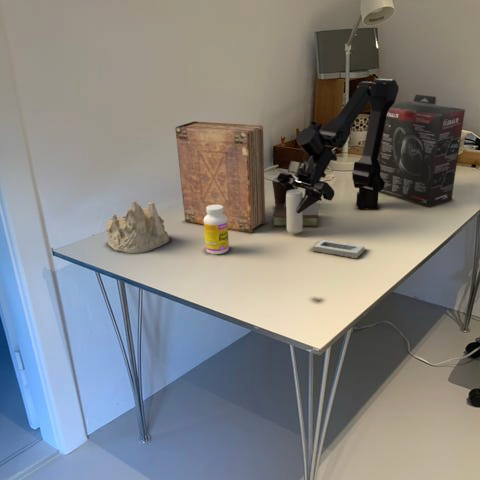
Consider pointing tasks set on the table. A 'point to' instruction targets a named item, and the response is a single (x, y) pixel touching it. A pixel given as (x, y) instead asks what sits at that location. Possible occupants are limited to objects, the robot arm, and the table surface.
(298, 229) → the beverage can
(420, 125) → the headset box
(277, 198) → the coffee mug
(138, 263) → the table surface
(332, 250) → the picture frame
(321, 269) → the table surface
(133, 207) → the beige rock formation
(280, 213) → the dark wooden slab
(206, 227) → the supplement bottle
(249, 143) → the book
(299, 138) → the robot arm
